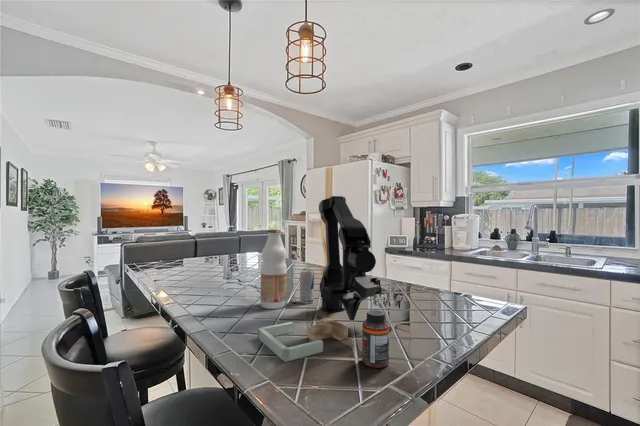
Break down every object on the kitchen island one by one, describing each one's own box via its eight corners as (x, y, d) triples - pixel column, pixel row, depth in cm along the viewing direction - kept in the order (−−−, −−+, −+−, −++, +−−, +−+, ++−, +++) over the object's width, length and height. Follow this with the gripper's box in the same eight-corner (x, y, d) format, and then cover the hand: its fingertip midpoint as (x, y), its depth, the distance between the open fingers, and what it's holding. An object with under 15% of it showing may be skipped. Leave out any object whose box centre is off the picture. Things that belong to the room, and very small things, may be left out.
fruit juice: (260, 310, 107) (262, 230, 108) (260, 302, 116) (261, 229, 117) (287, 308, 109) (288, 230, 110) (284, 301, 119) (285, 229, 119)
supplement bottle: (359, 357, 72) (359, 308, 72) (384, 356, 72) (384, 308, 72) (365, 369, 66) (365, 316, 66) (392, 368, 66) (392, 316, 66)
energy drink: (315, 301, 120) (315, 270, 120) (310, 304, 115) (311, 272, 115) (302, 299, 122) (303, 269, 122) (297, 303, 117) (297, 271, 117)
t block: (328, 328, 91) (329, 317, 91) (347, 338, 83) (347, 327, 83) (302, 334, 86) (302, 323, 86) (319, 345, 78) (319, 333, 78)
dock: (291, 330, 88) (291, 321, 88) (322, 351, 74) (322, 341, 74) (257, 337, 82) (257, 328, 82) (284, 362, 69) (284, 350, 69)
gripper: (343, 273, 78) (342, 335, 78) (395, 268, 88) (395, 322, 88) (319, 267, 87) (319, 322, 87) (369, 263, 98) (368, 312, 97)
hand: (351, 320), depth 90 cm, fingers closed
